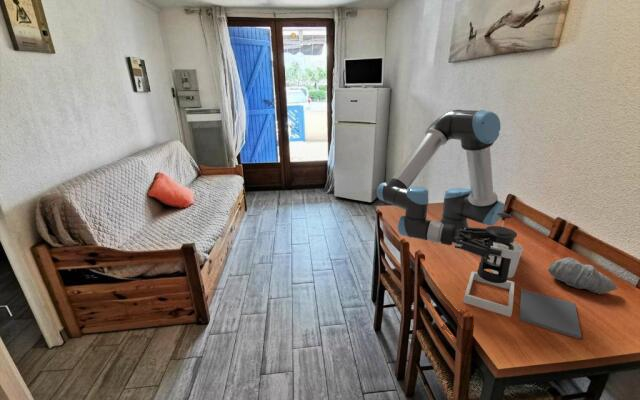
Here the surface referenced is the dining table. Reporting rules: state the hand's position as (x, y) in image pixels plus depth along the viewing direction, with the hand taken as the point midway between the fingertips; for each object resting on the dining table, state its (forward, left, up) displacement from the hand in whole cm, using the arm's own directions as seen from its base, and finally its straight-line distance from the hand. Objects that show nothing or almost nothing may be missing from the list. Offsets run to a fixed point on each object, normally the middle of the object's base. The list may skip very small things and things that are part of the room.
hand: (513, 247), depth 98 cm
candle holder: (-1, +19, -21) cm, 28 cm away
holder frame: (-4, 0, -20) cm, 21 cm away
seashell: (+23, +23, -21) cm, 38 cm away
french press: (-4, 0, -13) cm, 13 cm away
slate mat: (+13, 0, -20) cm, 24 cm away
